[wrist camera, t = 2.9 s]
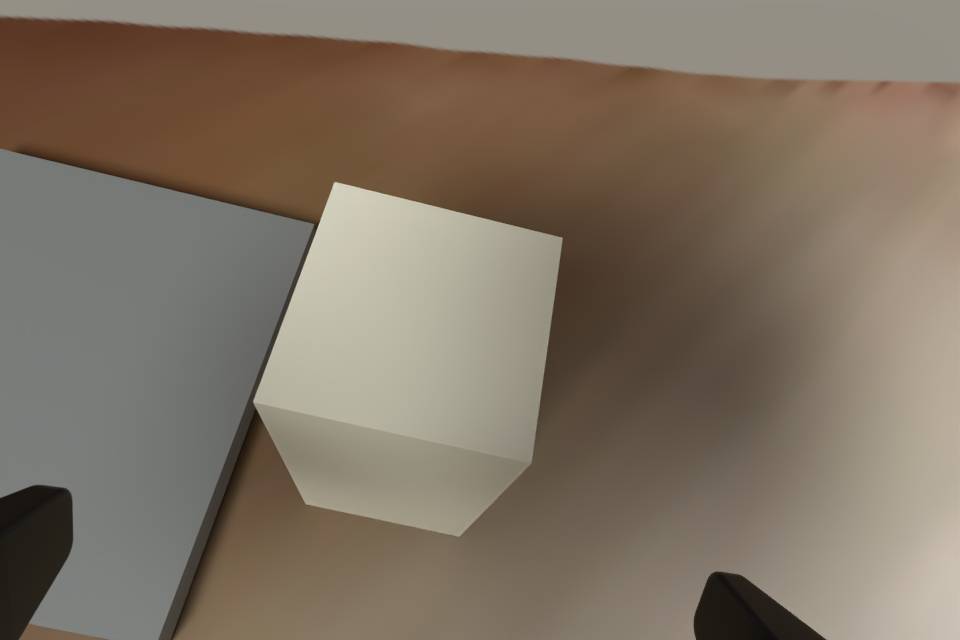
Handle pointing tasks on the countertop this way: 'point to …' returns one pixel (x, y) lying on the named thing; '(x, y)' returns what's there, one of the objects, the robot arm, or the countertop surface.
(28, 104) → the countertop surface
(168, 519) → the grey flat plate
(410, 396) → the cream brick
